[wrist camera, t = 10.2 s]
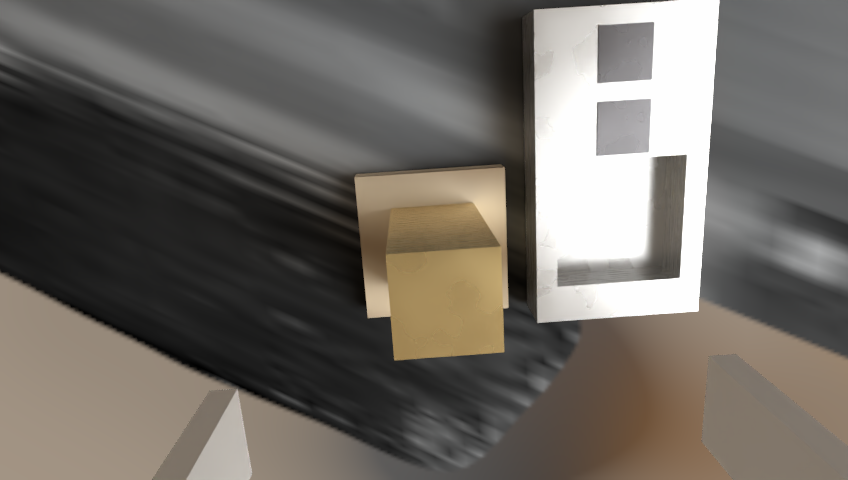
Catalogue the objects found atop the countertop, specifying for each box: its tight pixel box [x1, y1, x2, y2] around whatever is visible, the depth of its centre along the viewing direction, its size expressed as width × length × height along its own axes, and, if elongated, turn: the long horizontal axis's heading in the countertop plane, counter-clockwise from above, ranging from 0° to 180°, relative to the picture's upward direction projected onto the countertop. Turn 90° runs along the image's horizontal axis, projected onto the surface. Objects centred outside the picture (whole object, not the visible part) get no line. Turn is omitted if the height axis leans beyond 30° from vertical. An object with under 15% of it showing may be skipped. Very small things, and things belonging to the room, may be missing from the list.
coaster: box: [354, 164, 509, 318], centre depth 35 cm, size 9×9×2 cm
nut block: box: [386, 203, 504, 360], centre depth 29 cm, size 5×5×10 cm
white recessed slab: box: [522, 0, 719, 323], centre depth 33 cm, size 18×10×3 cm, turn 4°
